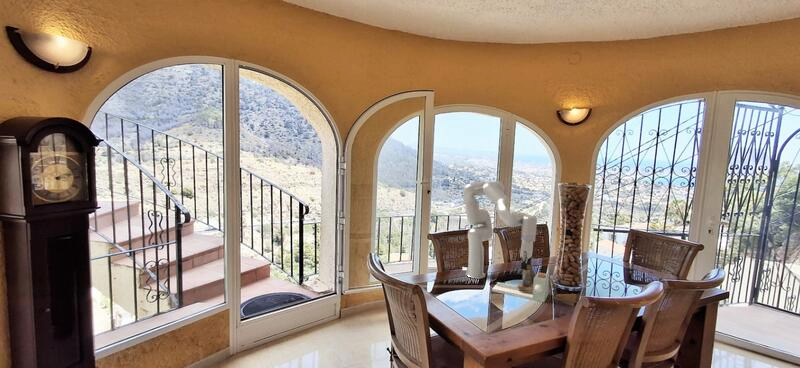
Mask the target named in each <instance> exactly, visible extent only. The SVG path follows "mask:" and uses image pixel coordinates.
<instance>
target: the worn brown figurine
mask: <svg viewBox="0 0 800 368" xmlns="http://www.w3.org/2000/svg"><path fill="white" fill-rule="evenodd" d="M522 272H523V273H525V272H526V273H530V285H533V282H534V277H535V276H536V274H535V272H534V269H533V266H532V264H531V265H527V270H523V271H522ZM523 273H522V274H523Z"/></svg>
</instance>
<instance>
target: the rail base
mask: <svg viewBox="0 0 800 368" xmlns="http://www.w3.org/2000/svg"><path fill="white" fill-rule="evenodd" d="M517 286H518V285H513V284H510V283H503V282H498V281H497V282H496V284H495V285H494V286H493V287H492V288H491V291H492V292H493V293H498V294H503V295H508V296H513V297H517V298H522V299H527V300H531V301H532V300H533V290H532V293H528V292H523V291H519V288H517ZM533 301H534V300H533Z"/></svg>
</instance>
